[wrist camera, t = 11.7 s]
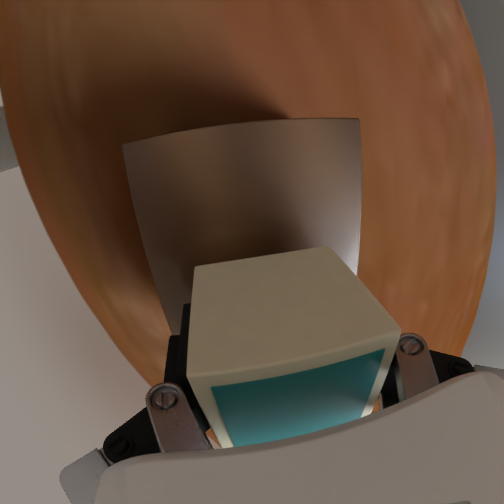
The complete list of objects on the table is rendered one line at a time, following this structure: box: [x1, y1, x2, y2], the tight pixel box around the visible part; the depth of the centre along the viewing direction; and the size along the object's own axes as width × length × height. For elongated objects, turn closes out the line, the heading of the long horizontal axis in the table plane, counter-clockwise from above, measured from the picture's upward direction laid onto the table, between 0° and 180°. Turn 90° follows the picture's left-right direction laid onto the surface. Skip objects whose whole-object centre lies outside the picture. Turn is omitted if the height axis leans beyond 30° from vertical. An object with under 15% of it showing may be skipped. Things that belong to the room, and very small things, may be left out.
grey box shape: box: [122, 118, 362, 335], centre depth 18 cm, size 10×16×10 cm, turn 6°
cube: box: [186, 246, 401, 448], centre depth 10 cm, size 6×6×6 cm
